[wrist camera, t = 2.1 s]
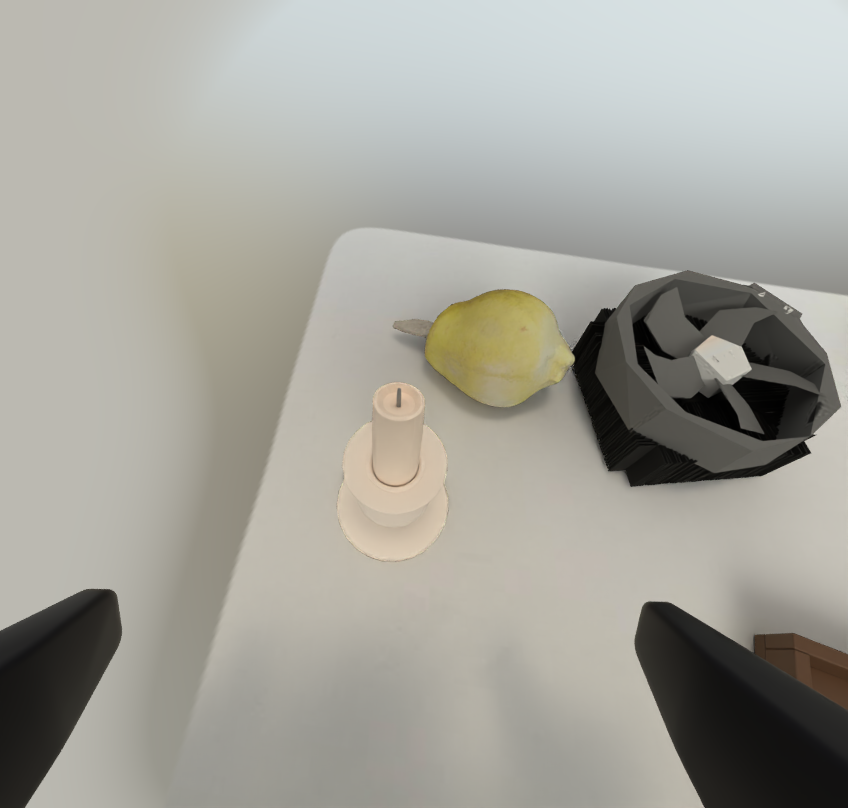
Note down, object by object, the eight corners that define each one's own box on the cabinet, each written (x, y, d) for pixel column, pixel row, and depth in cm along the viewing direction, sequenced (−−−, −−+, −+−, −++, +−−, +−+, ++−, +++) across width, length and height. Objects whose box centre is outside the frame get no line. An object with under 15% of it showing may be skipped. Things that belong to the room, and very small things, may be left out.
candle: (352, 446, 22) (329, 301, 13) (453, 464, 22) (502, 331, 13) (324, 550, 19) (270, 461, 10) (439, 571, 19) (488, 500, 10)
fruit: (413, 302, 27) (574, 334, 25) (384, 390, 26) (552, 431, 23) (393, 244, 21) (598, 278, 19) (355, 351, 20) (571, 401, 18)
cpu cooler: (669, 454, 16) (590, 268, 21) (603, 500, 21) (552, 340, 26) (899, 438, 18) (774, 266, 23) (787, 484, 22) (704, 334, 27)
